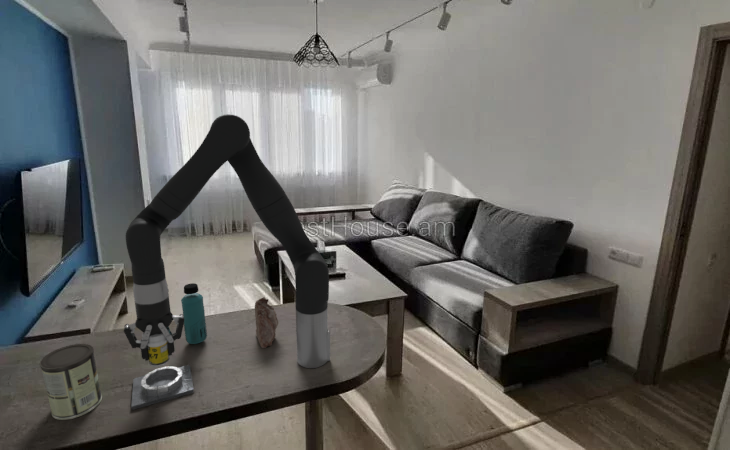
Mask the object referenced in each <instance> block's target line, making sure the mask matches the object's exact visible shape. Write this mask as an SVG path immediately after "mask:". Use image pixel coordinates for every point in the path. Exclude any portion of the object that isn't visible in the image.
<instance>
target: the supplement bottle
mask: <svg viewBox="0 0 730 450" xmlns="http://www.w3.org/2000/svg"><path fill="white" fill-rule="evenodd" d="M147 350H148V358H149V360H148V364H149V366H151V367H154V368H155V367H156V368H158V367H159V368H160V367H162V366H166V364H168V363H169V362H170V356H169V350H168V340H167V338H166V337H165V336H164V334H163V333H161V334H154V335H151V336H149V338H148V341H147Z"/></svg>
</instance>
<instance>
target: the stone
mask: <svg viewBox="0 0 730 450" xmlns="http://www.w3.org/2000/svg"><path fill="white" fill-rule="evenodd" d="M268 303H269V299H268V298H267V297H265V296H263V297H261V298H259V299H258V300H256V301H255V303H254V314H255V316H254V317H255V326H256V329H255V335H256V338H257V341H258V343H259V345H260V348H261V349H266V348H267V347H271V346H272V345H273V341H275V338H277V337H276V333H277V332H276V329H277V328H278V326H279V320H278V317H277V313H276V311H275V308H274V307H273V305H270V304H268Z"/></svg>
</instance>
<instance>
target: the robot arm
mask: <svg viewBox="0 0 730 450" xmlns="http://www.w3.org/2000/svg"><path fill="white" fill-rule="evenodd" d="M226 162H228V163H229V165H230V166H231V167H232V169H233V171H234V172H235V173H236V176H237V177H238V179H239V181H240V183H241V185H242V189H244V190H243V191H244V193H245V195H246V197H247V199H248V200H249V202H250V204H251V207H252V208H253V210H254V211H255V213H256V215H257V216H258V218H259V219H260V222H262V224H263V225H264V226H265V228H266V229H267V231H268V232H270V234H272V236H273V237H274V238H275V239H276V240H277V241H278V242H279V243H280V245H282V247H283V249H284V250H285V252H286V254H287V256H288V258H289V260H290V262H291V265H292V268H293V270H294V275H295V276H294V278H295V280H294V282H295V300H294V301H295V303H294V304H295V331H296V333H295V334H296V335H295V336H296V362H297V364H298V365H299V366H301V367H303V368H306V369H315V368H320V367H322V366H323V365H325V364H326V363H327V362H329V361H331V331H330V330H329V327H328V326H329V324H328V323H329V321H328V320H329V319H328V318H329V317H328V308H329V307H328V302H329V299H330V298H329V297H330V296H329V294H330V291H329V290H330V273H329V272H330V271H329V268H328V265H327V263H326V260H325V259H324V257H323V256H322V255H321V253H320V251H318V249H317V248H316V247H315V245H314V244H313V242H312V241H311V240H310V238H309V237H308V235H307V234H306V232H305V230H304V228H303V225H302V223H301V220H300V218H299V216H298V213H297V212H296V210H295V207H294V206H293V203H292V202H291V201H290V198H289V197H288V195H287V194H286V191H285V190H284V189H283V187H282V186H281V184H280V183H279V181H278V180H277V179H276V177H275V176H274V175H273V173H272V172H271V171H270V170H269V169H268V168H267V167H266V165H265V163H264V162H263V160H262V159H261V157H260V156H259V154H258V152H257V150H256V148H255V146H254V142H252V138H251V132H250V128H249V125H248V123H247V122H246V120H244V118H242V117H240V116H238V115H235V114H231V113H230V114H221V115H220V116H218V117H216V118H215V119H214V120H213V121H212V123H211V125H210V128H209V131H208V132H207V134H206V135H205V137H204V139H203V141H202V142H201V143H200V145H199V147H198V148H197V149H196V150H195V152H194V153H193V155H192V156H191V157H190V158H189V159H188V160H187V162H186V163H184V165H183V166H181V167H180V169H179V170H178V171H177V172H176V173H175V174H174V175H173V176H172V177H171V178H170V179H169V180H167V182H166V183H165V184H164V185H163V187H161V189H160V190H159V191H158V192H157V193H156V194H155V196H154V198H152V200H151V202H150V203H149V204H148V205H147V206H145V207H144V208H143V209H142V210H141V211H140V212H139V213H138V214H137V215H136V217H135V218H133V219H132V220H131V222H130V223H129V225H128V227H127V229H126V231H125V244H126V250H127V254H128V256H129V260H130V264H131V276H132V281H133V286H132V287H133V289H132V290H133V291H132V292H133V293H132V294H133V298H134V306H135V315H136V319H135V322H133V323H131V324H129V323H126V324H124V327H123V333H124V334H125V336H126V339H127V340H128V343H129V345H130V347H131V348H132V349H136V348H139V349H140V354H141V359H142V360H145V362H147V361H149V358H148V350H147V341H148V338H149V336H151V335H154V334H161V333H163V334H164V336H165V337H166V338H167V340H168V350H169V357H171V356H173V353H175V343H174V342H175V341H176V340H180V339H181V338H182V335H183V334H182V333H183V331H184V330H183V329H184V315H183V313H180V314H178V315H174V314H173V313H172V312H171V304H170V295H169V285H168V283H167V277H166V270H165V268H166V267H165V263H164V259H163V258H162V249H161V248H162V247H161V235H162V234H163V232H164V231H165V230H166V229H167V228H168V227H169V225H170V224H171V223H172V222H173V221H175V220H176V219H178V218H179V217H180V216H181V215H182V214H183V213H184V212H185V210H186V209H187V208H188V207H189V206H190V205H191V203H192V202H193V201H194V199H195V198H197V196H198V195H199V194H200V192H202V190H203V188H205V186H206V184H207V183H208V181H209V180H210V179H211V178H212V177H213V175H215V173H216V172H218V170H219V169H220V168H221V167H222V166H223V165H225V163H226ZM173 321H174V324H175V325H176V329H175V332H174V333H173V332H172V330H171V329H170V327H169V326H170V325H171V323H172V322H173ZM136 328H137V329H139V330H140V331H141V332H142V336H141V339H140V340H139V339H137V336H136V334H135V331H136Z"/></svg>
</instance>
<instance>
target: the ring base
mask: <svg viewBox="0 0 730 450" xmlns="http://www.w3.org/2000/svg"><path fill="white" fill-rule="evenodd" d="M192 377H193V376H192V372H191V365H190V364H186V365H183V366H182V365H181V366H178V367H177V366H171V365H170V366H169V365H168V366H166V365H165V366H163V367H162V366H161V367H159V368H158V367H157V368H155V369H153V370H152V371H150V372H147V373H146V374H145V375H141V376H138V377H137V376H136V377H135V378H133V379H132V393H131V404H130V405H131V406H130V407H131V411H134V410H137V409H141V408H144V407H148V406H151V405H155V404H158V403H162V402H166V401H169V400H174V399H176V398H179V397H183V396H186V395H190V394H194V392H195V390H194V385H193V378H192Z"/></svg>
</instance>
